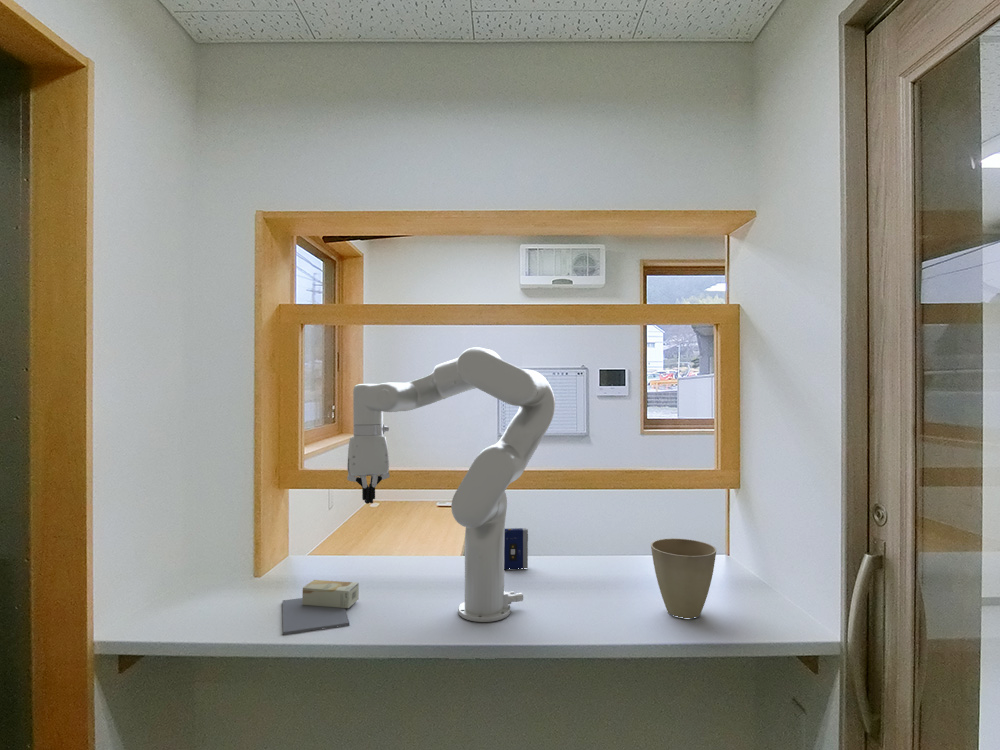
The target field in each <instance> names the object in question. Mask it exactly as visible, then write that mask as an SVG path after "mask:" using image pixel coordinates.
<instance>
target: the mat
mask: <svg viewBox="0 0 1000 750" xmlns="http://www.w3.org/2000/svg"><path fill="white" fill-rule="evenodd" d="M345 625H348V626H350V620H349V617H348V614H347V610H346V608H338V607H325V606H311V605H302V597H299V598H298V597H297V598H291V599H284V600H282V635H283V636H284V635H292V633H293V634H299V633H306V632H305V631H307V632H312V631H311V630H314V631H318V630H317V629H321V630H323V629H322V628H328V629H332V628H331V627H334V628H338V627H337V626H341V627H346V626H345Z"/></svg>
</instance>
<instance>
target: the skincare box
mask: <svg viewBox="0 0 1000 750" xmlns="http://www.w3.org/2000/svg"><path fill="white" fill-rule="evenodd" d="M359 586H360V583H359V582H355V581H353V582H352V581H337V580H336V581H335V580H325V579H324V580H320V579H313V580H312V581H310V582H309V583H307V584H305V585H304V586H303V587H302V597H301V598H302V605H311V606H325V607H338V608H345V609H350V607H352V606H353V605H354V604H355V603H356V602H357V601H359V596H360V595H359V591H360V590H359Z"/></svg>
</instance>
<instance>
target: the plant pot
mask: <svg viewBox="0 0 1000 750" xmlns="http://www.w3.org/2000/svg"><path fill="white" fill-rule="evenodd" d="M650 548H651V549H650V550H651V556H652V562H653V567H654V568H653V569H654V572H655V576H656V579H657V584H658V588H659V591H660V595H661V598H662V601H663V604H664V606H665V609H666V611H668V612H667V614H669V613H670V614H672V615H674V616H678V617H683V618H694V617H698V616H699V615H700V616H701V614H702V611H703V608H704V606H705V603H706V602H707V601H706V600H707V597H708V594H709V590H710V587H711V584H712V579H713V575H714V574H713V573H714V568H715V562H716V556H717V548H716V547H715V546H713V545H712V544H710V543H707V542H704V541H699V540H696V539H695V540H694V539H689V538H672V537H671V538H662V539H656V540H654V541H652V542H651V543H650ZM670 614H669V615H670ZM700 616H699V617H700ZM699 617H698V618H699Z"/></svg>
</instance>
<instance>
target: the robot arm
mask: <svg viewBox="0 0 1000 750" xmlns="http://www.w3.org/2000/svg"><path fill="white" fill-rule="evenodd" d="M550 384H551V383H549V381H548V379H546V377H545V376H544V375H543V374H541V373H540V372H538V371H536V370H533V369H527V368H522V367H521V368H520V367H518V366H516V365H515V364H512V363H510V362H508V361H506V360H505V359H504V360H503V358H501V356H500V355H499V354H498V353H497V352H496V351H494V350H492V349H489V348H484V347H478V346H475V347H469V348H467V349H465V350H464V351H462V352H461V354H460V355H459V356H458V357H457V358H454V359H451V360H448V361H445V362H442V363H438V364H437V365H435V366H434V368H433V371H432V372H431V373H430V374H428V375H425V376H423V377H420V378H417V379H414V380H411V381H407V382H396V381H395V382H389V381H388V382H382V383H359V384H356V385H355V386H354V387H353V390H352V391H353V392H352V394H353V396H352V397H353V400H352V401H353V402H352V403H353V406H352V407H353V408H352V409H353V410H352V411H353V413H352V414H353V416H352V417H353V436H350V438H349V443H348V448H347V449H348V451H347V467H346V468H347V469H346V470H347V473H348V474H347V477H346V479H347V481H348V482H354V483H357V484H358V485H360V487H361V488H362V490H361V491H362V492H361V493H362V495H361V497H362V501H364V503H365V504H366V505H368V504H374V500H376V487H377V485H378V484H380V482H381V481H383V480H386V479H389V478H390V472H389V471H390V459H389V457H390V456H389V447H388V441H387V437H386V435H384V434H385V433H386V432H389V429H390V427H389V425H388V426H387V425H385V423H384V412H385V413H397V412H408V411H413V410H416V409H418V408H423V407H425V406H428V405H431V404H434V403H437V402H440V401H442V400H445V399H447V398H450V397H453V396H456V395H460V394H462V393H466V392H468V391H471V390H475V389H477V390H480V391H482V392H484V393H486V394H488V395H489V396H491V397H494V398H496V399H497V400H500V401H501V402H503V403H506V405H507V404H508V405H510V406H514V407H519V408H518V410H517V412H516V413H515V415H514V416H513V418H512V419H511V420H510V421H509V423H508V425H507V427H506V429H505V431H504V432H503V434H502V435H501V437H500V438H499V440H498V441H497V442H496V443H495V444H492V445H489V446H487V447H486V448H484V449H483V450H482V451H480V452H479V454H477V456H476V458H475V459H474V460H473V462H472V463H471V465H470V467H469V469H468V470H467V471H466V474H465V476H464V477H463V478H462V480H461V482H460V484H459V485H458V487H457V489H456V490H455V493H454V494H453V496H452V498H451V499H452V500H451V506H450V507H451V514H452V516H453V518H454V520H455V521H456V523H458V525H460V526H461V527H464V528H465V533H464V601H463V602H461V603H460V604H459V605H458V607H457V613H458V615H459V617H461V618H462V619H465V620H467V621H472V622H477V623H493V622H496V621H501V620H504V619H506V618H507V617H508V616H509V615H511V612H512V611H511V610H512V609H511V604H512V603H517V602H523V601H524V594H523V592H517V593H516V592H515V591H513V590H512V591H505V570H504V534H505V529H506V517H507V509H508V497H507V494H506V490H507V489H508V486H509V485H510V484H512V483H513V482H515V481H516V480H518V479H519V478H520V477H521V476H522V475H523V473H524V471H525V469H526V467H527V465H528V463H529V462H530V460H531V459H532V457H533V455H534V453H535V452H536V450H537V448H538V447H539V445H540V443H541V441H542V439H543V438H544V436H545V434H546V433H547V431H548V429H549V427H550V425H551V423H552V420H553V418H554V415H555V412H556V411H555V409H556V400H555V399H556V397H555V394H554V391H553V389H552V386H551V385H550ZM369 476H370V481H369V484H368V482H367V480H368V479H367V477H369Z"/></svg>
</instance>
